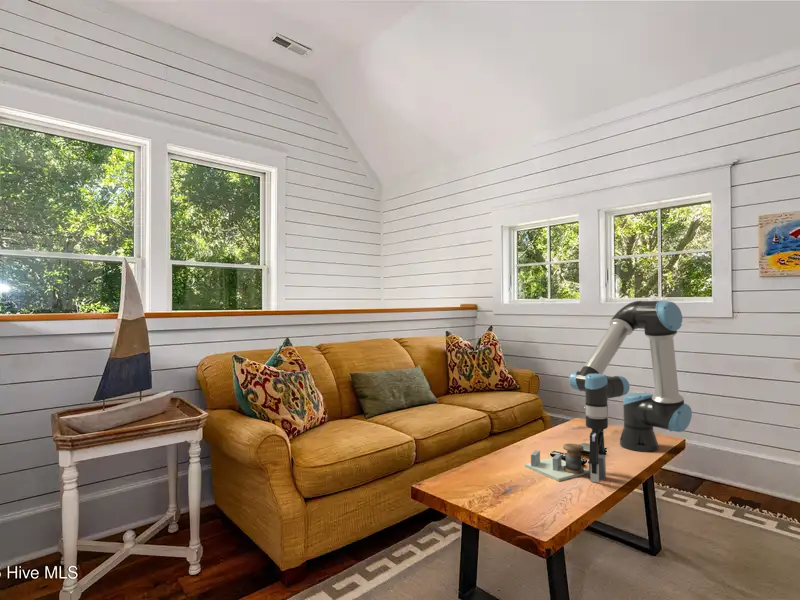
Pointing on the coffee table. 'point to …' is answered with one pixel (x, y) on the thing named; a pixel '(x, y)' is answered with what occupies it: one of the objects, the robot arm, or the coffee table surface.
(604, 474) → the gray rectangular block
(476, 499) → the coffee table surface
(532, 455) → the notch
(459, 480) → the coffee table surface
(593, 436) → the robot arm
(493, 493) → the coffee table surface
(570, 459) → the bobbin
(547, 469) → the board
